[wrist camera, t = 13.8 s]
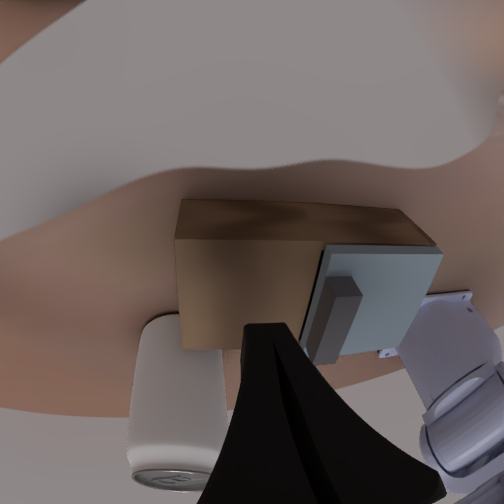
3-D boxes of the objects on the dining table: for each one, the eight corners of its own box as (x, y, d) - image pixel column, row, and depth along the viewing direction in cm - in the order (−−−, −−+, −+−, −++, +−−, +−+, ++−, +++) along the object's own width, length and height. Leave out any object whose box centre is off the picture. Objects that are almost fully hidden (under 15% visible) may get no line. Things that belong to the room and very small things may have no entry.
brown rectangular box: (399, 209, 20) (436, 244, 16) (370, 294, 24) (394, 335, 20) (181, 199, 17) (174, 239, 14) (185, 299, 21) (183, 349, 18)
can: (237, 341, 24) (256, 482, 14) (181, 371, 26) (182, 496, 16) (180, 296, 21) (173, 461, 11) (125, 335, 23) (104, 475, 13)
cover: (436, 246, 15) (458, 269, 14) (393, 338, 19) (406, 362, 18) (326, 244, 14) (343, 273, 12) (297, 349, 18) (306, 379, 16)
